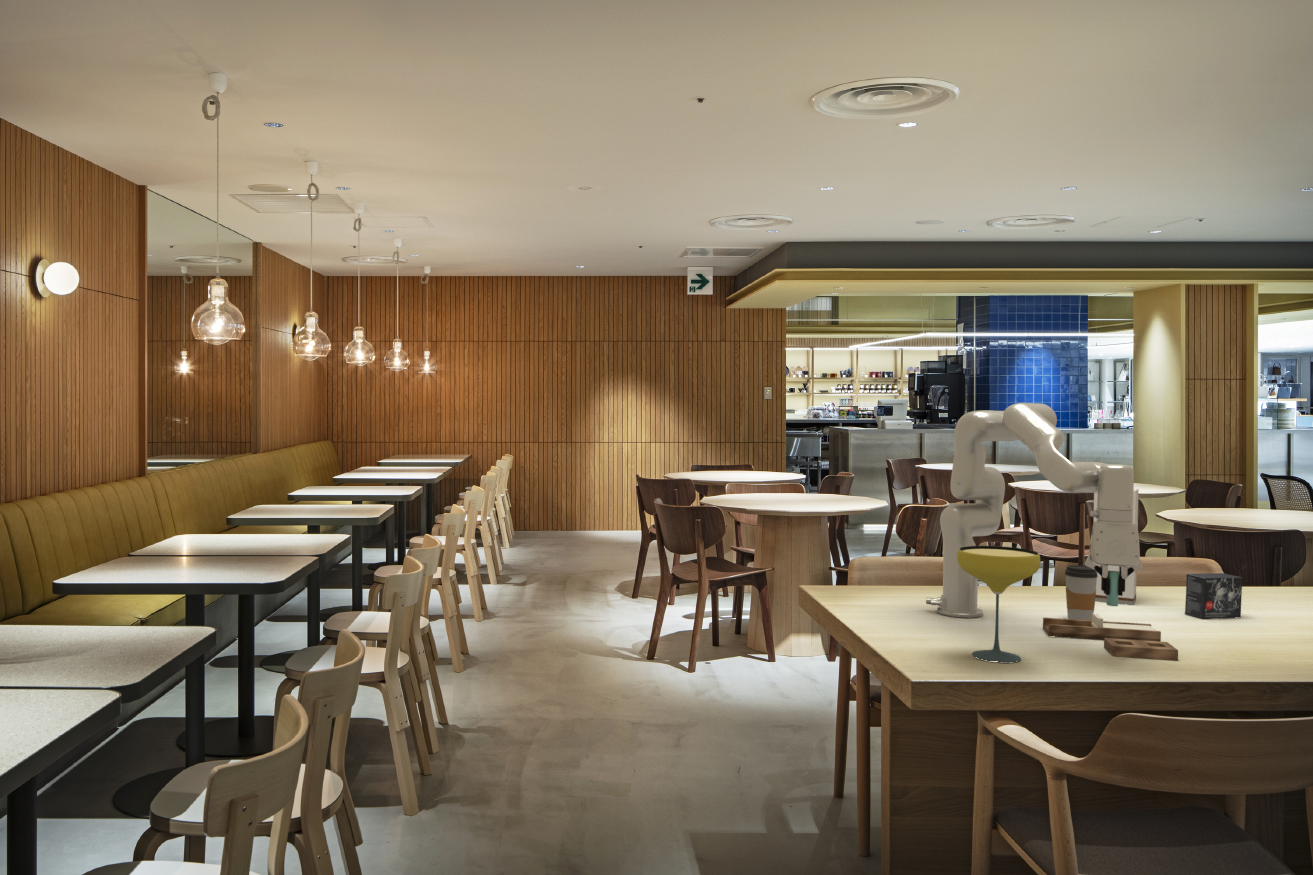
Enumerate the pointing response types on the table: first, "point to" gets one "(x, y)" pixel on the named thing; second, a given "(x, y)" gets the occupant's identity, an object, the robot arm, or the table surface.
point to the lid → (1098, 622)
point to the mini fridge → (1130, 581)
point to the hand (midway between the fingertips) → (1112, 593)
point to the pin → (1113, 588)
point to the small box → (1213, 595)
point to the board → (1096, 630)
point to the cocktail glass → (998, 580)
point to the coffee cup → (1080, 591)
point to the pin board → (1140, 649)
